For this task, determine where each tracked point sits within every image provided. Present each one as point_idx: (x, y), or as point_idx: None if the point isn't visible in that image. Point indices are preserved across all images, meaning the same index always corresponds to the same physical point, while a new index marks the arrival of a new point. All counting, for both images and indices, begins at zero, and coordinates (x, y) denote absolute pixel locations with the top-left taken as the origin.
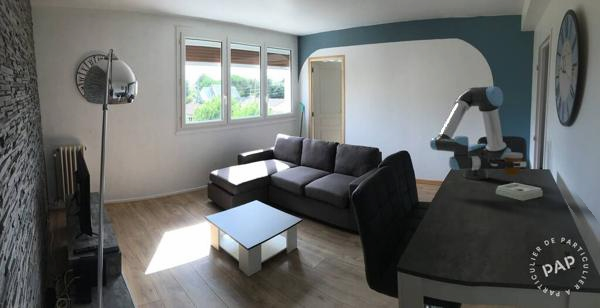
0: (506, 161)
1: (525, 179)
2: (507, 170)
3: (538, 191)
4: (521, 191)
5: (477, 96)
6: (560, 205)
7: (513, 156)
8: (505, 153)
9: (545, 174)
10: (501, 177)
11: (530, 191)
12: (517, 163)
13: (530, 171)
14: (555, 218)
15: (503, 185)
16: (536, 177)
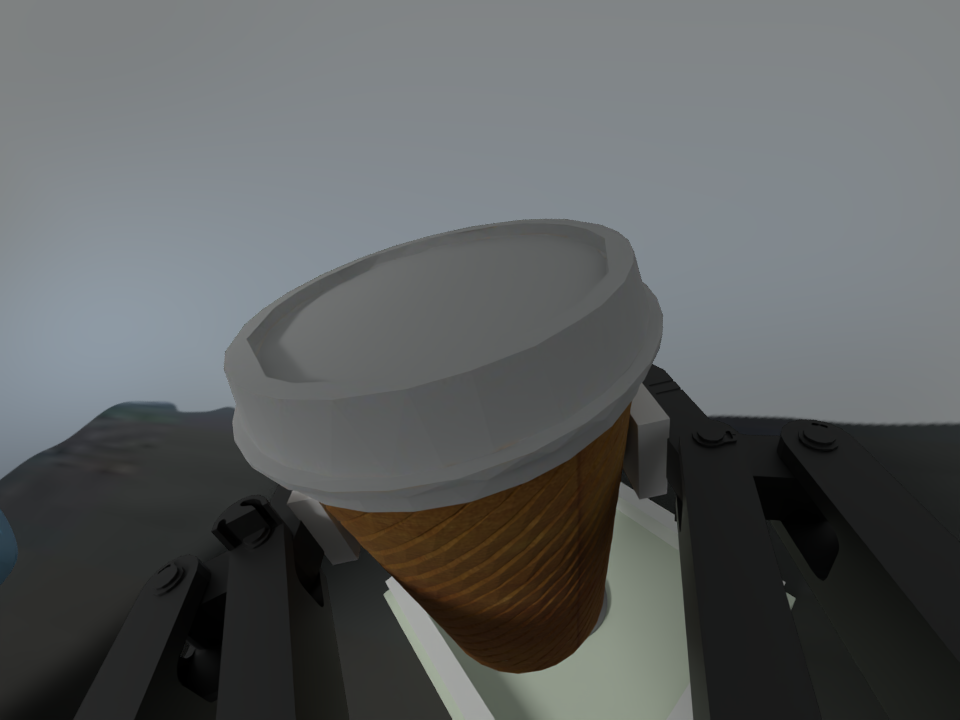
0: (548, 539)
1: (178, 497)
2: (573, 625)
3: None
4: None
5: None
6: (747, 424)
7: (646, 302)
8: (430, 379)
9: (161, 417)
10: (17, 639)
11: (666, 514)
12: (669, 387)
13: (71, 456)
14: None
15: None
16: (179, 449)
